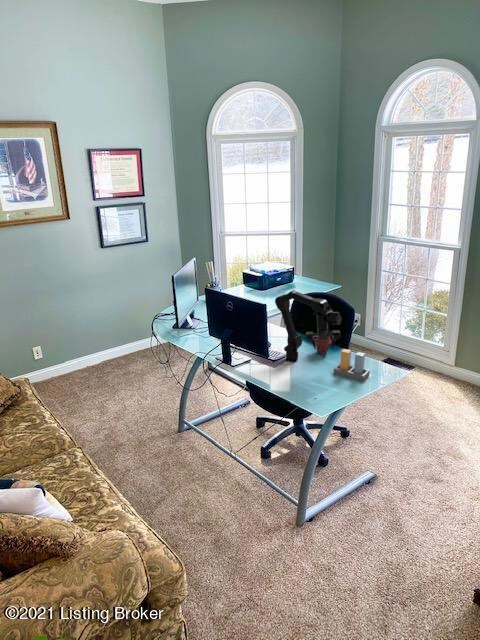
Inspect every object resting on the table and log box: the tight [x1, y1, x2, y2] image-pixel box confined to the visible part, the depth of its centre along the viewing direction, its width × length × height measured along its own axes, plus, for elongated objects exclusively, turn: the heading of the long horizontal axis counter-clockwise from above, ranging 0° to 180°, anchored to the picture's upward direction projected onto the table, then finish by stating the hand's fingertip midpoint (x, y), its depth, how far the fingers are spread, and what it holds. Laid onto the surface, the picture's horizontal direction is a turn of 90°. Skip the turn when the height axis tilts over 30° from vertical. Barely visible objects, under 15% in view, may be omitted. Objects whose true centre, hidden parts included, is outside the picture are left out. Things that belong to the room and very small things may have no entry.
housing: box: [329, 362, 373, 384], centre depth 258 cm, size 20×12×4 cm, turn 56°
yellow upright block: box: [339, 348, 352, 371], centre depth 258 cm, size 5×5×13 cm
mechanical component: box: [314, 337, 332, 356], centre depth 285 cm, size 12×10×10 cm
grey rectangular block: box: [353, 351, 366, 375], centre depth 254 cm, size 5×5×13 cm
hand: (323, 349), depth 263 cm, fingers open, 9 cm apart
